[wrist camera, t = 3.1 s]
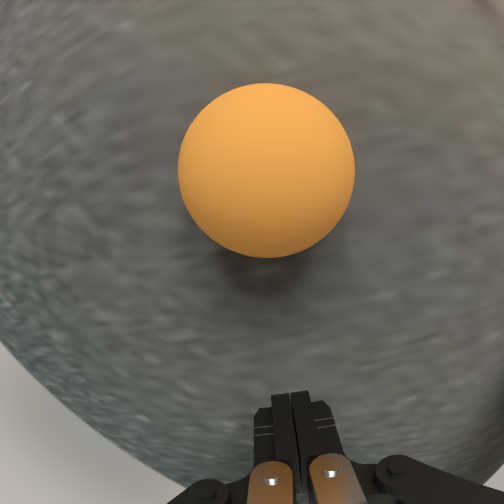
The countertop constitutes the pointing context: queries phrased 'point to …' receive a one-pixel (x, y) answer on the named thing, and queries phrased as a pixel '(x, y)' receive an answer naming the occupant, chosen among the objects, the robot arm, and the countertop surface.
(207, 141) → the ball
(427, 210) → the countertop surface
